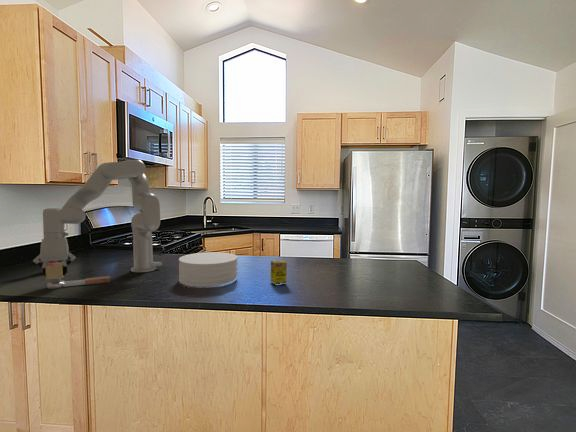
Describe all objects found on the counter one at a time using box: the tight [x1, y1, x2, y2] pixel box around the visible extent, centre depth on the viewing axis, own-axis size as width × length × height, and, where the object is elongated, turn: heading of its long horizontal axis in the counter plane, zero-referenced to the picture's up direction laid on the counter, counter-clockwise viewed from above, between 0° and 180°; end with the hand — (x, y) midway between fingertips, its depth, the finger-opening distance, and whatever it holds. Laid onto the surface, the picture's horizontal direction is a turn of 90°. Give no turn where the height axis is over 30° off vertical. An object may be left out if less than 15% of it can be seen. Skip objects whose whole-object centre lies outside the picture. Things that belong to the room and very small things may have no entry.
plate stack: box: [178, 251, 238, 286], centre depth 156 cm, size 28×28×12 cm
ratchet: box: [46, 275, 111, 290], centre depth 146 cm, size 24×6×6 cm, turn 119°
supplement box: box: [269, 260, 288, 284], centre depth 151 cm, size 6×6×11 cm
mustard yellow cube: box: [45, 261, 65, 281], centre depth 141 cm, size 6×6×6 cm
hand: (55, 275), depth 142 cm, fingers closed on mustard yellow cube, 6 cm apart
